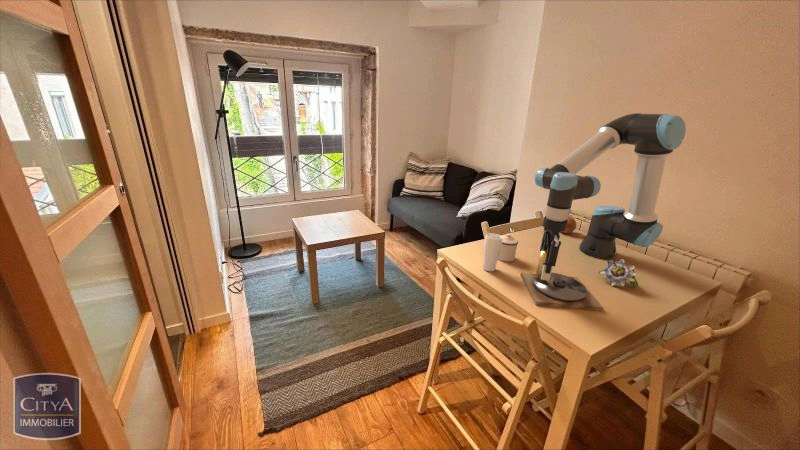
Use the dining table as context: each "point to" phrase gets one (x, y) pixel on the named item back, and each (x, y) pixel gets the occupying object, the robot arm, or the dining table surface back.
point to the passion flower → (619, 273)
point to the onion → (570, 225)
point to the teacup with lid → (508, 248)
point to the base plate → (544, 300)
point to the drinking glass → (491, 251)
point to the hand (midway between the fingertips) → (543, 275)
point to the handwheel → (558, 284)
